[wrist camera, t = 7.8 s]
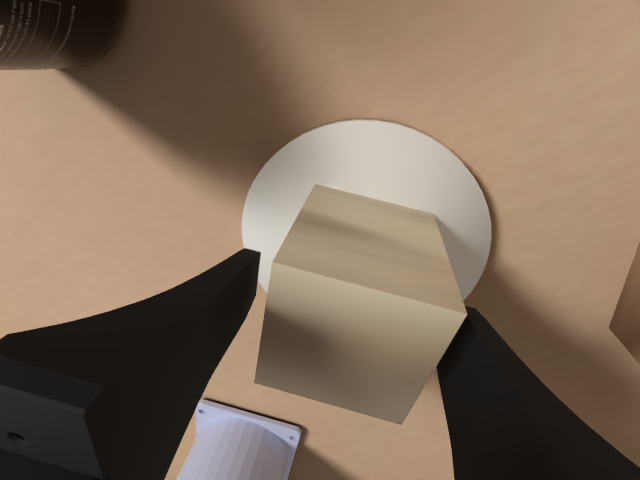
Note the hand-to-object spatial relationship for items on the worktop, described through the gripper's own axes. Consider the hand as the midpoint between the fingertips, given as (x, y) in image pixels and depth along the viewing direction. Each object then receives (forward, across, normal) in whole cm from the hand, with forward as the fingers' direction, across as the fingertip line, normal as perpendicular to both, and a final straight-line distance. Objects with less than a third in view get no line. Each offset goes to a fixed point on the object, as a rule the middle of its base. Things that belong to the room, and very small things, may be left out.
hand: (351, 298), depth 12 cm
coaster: (+4, 0, 0) cm, 4 cm away
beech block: (+3, 0, 0) cm, 3 cm away
